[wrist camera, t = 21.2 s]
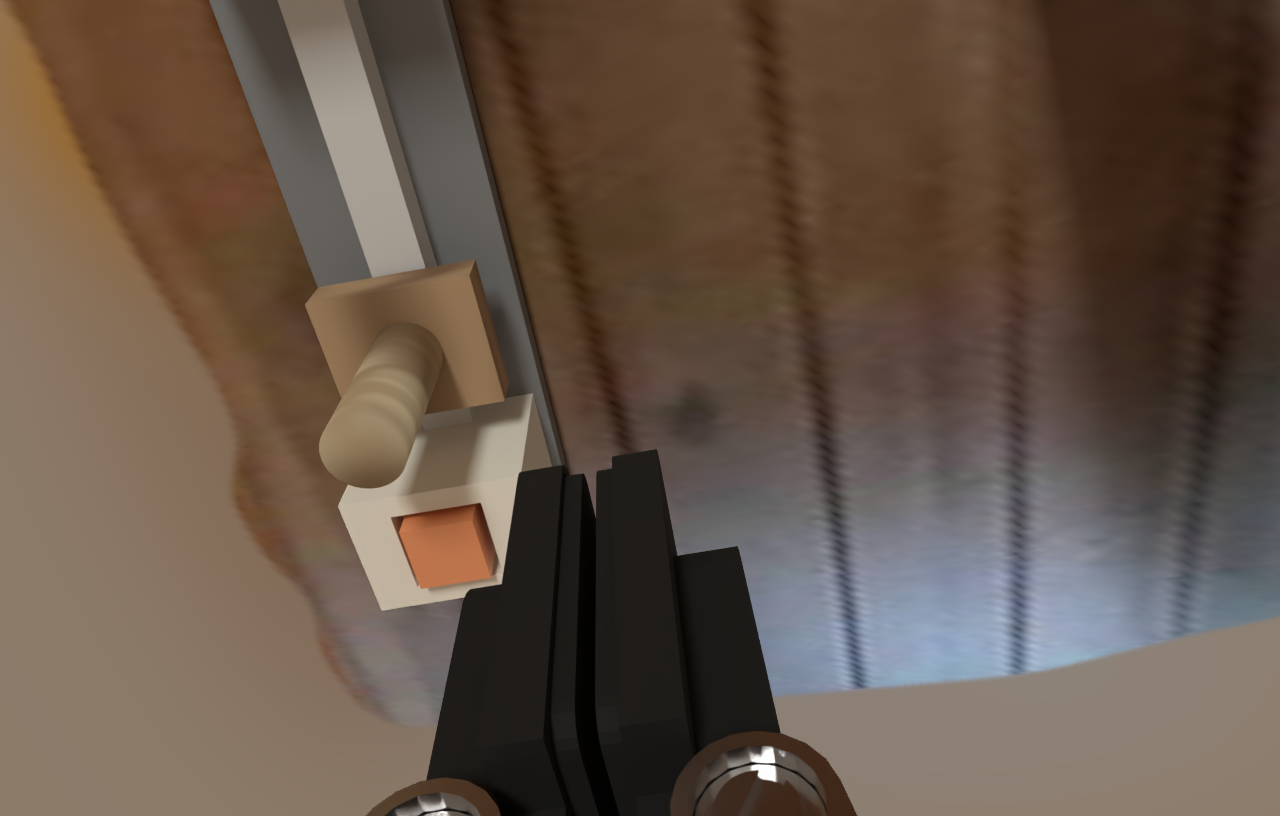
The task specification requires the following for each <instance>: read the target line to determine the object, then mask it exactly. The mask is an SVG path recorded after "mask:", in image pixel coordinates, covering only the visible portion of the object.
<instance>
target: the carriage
mask: <svg viewBox="0 0 1280 816" xmlns="http://www.w3.org/2000/svg"><path fill="white" fill-rule="evenodd" d="M305 306H306V308H307V311H308V314H309V316H310V319H311V321H312V324H313V326H314V329H315V332H316V334H317V337H318V339H319V342H320V344H321V347H322V350H323V352H324V355H325V357H326V360H327V362H328V365H329V368H330V370H331V373H332V375H333V378H334V380H335V383H336V385H337V388H338V391H339V393H340V396H341V398H342V400H341V402H340V403H339V405H338V407H337V409H336V410H335V412H334V414H333V416H332V418H331V419H330V421H329V423H328V425H327V427H326V428H325V430H324V432H323V434H322V436H321V439H320V443H319V452H320V456H321V459H322V462H323V464H324V465H325V467H326V468H327V470H328V471H329V472H330V473H331V474H332V475H333V476H334V477H336V478H337V479H339V480H340V481H342V482H344V483H346V484H348V485H351V486H354V487H358V488H365V489H372V488H379V487H383V486H386V485H388V484H390V483H392V482H393V481H395V480H396V479H397V478H398V477H399V476H400V475H401V474H402V472H403V471H404V469H405V466H406V463H407V461H408V458H409V455H410V453H411V450H412V447H413V444H414V442H415V439H416V436H417V433H418V431H419V428H420V425H421V423H422V420H423V417H424V415H426V414H432V413H438V412H444V411H450V410H456V409H461V408H467V407H473V406H479V405H485V404H491V403H497V402H503V401H505V398H506V393H507V388H508V383H509V379H508V375H507V371H506V368H505V364H504V361H503V357H502V353H501V350H500V346H499V342H498V339H497V335H496V332H495V328H494V324H493V321H492V317H491V313H490V310H489V306H488V303H487V299H486V295H485V292H484V288H483V284H482V281H481V277H480V274H479V270H478V266H477V263H476V259H474V260H469V261H463V262H458V263H452V264H446V265H441V266H435V267H429V268H424V269H418V270H413V271H407V272H401V273H396V274H390V275H385V276H379V277H373V278H368V279H362V280H357V281H351V282H345V283H340V284H334V285H329V286H323V287H319V288H318V289H317V290H316V291H315V293H314V294H313V295H312V296H311V298H310V299H309V300H308V301H307V303H306V304H305Z"/></svg>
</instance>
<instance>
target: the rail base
mask: <svg viewBox="0 0 1280 816" xmlns="http://www.w3.org/2000/svg"><path fill="white" fill-rule="evenodd" d="M209 1H210V4H211V6H212V9H213V11H214V14H215V17H216V19H217V22H218V25H219V27H220V30H221V33H222V35H223V38H224V41H225V43H226V46H227V49H228V51H229V54H230V56H231V59H232V62H233V64H234V67H235V70H236V72H237V75H238V78H239V80H240V83H241V86H242V88H243V91H244V94H245V96H246V99H247V102H248V104H249V107H250V109H251V112H252V115H253V117H254V120H255V123H256V125H257V128H258V131H259V133H260V136H261V139H262V141H263V144H264V147H265V149H266V152H267V154H268V157H269V160H270V162H271V165H272V168H273V170H274V173H275V176H276V178H277V181H278V184H279V186H280V189H281V192H282V194H283V197H284V199H285V202H286V205H287V207H288V210H289V213H290V215H291V218H292V221H293V223H294V226H295V229H296V231H297V234H298V237H299V239H300V242H301V245H302V247H303V250H304V252H305V255H306V258H307V260H308V263H309V266H310V268H311V271H312V274H313V276H314V279H315V282H316V284H317V287H318V288H319V287H323V286H329V285H334V284H340V283H345V282H351V281H357V280H362V279H368V278H373V277H379V276H385V275H390V274H396V273H401V272H407V271H413V270H418V269H424V268H429V267H435V266H441V265H446V264H452V263H458V262H463V261H469V260H474V259H476V263H477V266H478V270H479V274H480V277H481V281H482V284H483V288H484V292H485V295H486V299H487V303H488V306H489V310H490V313H491V317H492V321H493V324H494V328H495V332H496V335H497V339H498V342H499V346H500V350H501V353H502V357H503V361H504V364H505V368H506V371H507V375H508V379H509V383H508V388H507V393H506V398H505V401H503V402H497V403H491V404H485V405H479V406H473V407H467V408H461V409H456V410H450V411H444V412H438V413H432V414H426V415H424V417H423V420H422V423H421V425H420V428H419V431H418V433H417V436H416V439H415V442H414V444H413V447H412V450H411V453H410V455H409V458H408V461H407V463H406V466H405V469H404V471H403V472H402V474H401V475H400V476H399V477H398V478H397V479H396V480H395V481H393V482H392V483H390V484H388V485H386V486H383V487H379V488H372V489H365V488H358V487H354V486H351V485H348V486H347V488H346V490H345V492H344V494H343V496H342V499H341V501H340V503H339V505H338V508H339V510H340V512H341V515H342V517H343V520H344V522H345V524H346V527H347V529H348V531H349V534H350V536H351V539H352V541H353V543H354V546H355V548H356V550H357V553H358V555H359V558H360V560H361V562H362V565H363V567H364V569H365V572H366V574H367V576H368V579H369V581H370V584H371V586H372V588H373V591H374V593H375V595H376V598H377V600H378V603H379V605H380V607H381V610H389V609H395V608H401V607H407V606H414V605H420V604H426V603H432V602H439V601H445V600H451V599H457V598H464V597H465V595H466V593H467V592H468V591H469V590H470V589H474V588H480V587H486V586H493V585H499V584H502V578H503V572H504V565H505V558H506V552H507V545H508V539H509V532H510V525H511V519H512V512H513V506H514V499H515V492H516V486H517V479H518V475H519V473H520V472H523V471H529V470H535V469H541V468H547V467H553V466H559V465H565V466H566V462H565V458H564V454H563V450H562V446H561V442H560V438H559V434H558V430H557V426H556V422H555V418H554V414H553V411H552V407H551V403H550V399H549V395H548V391H547V387H546V383H545V379H544V375H543V371H542V367H541V363H540V359H539V355H538V351H537V347H536V343H535V339H534V335H533V331H532V327H531V324H530V320H529V316H528V312H527V308H526V304H525V300H524V296H523V292H522V288H521V284H520V280H519V276H518V272H517V268H516V264H515V260H514V256H513V252H512V248H511V244H510V240H509V237H508V233H507V229H506V225H505V221H504V217H503V213H502V209H501V205H500V201H499V197H498V193H497V189H496V185H495V181H494V177H493V173H492V169H491V165H490V161H489V157H488V153H487V149H486V146H485V142H484V138H483V134H482V130H481V126H480V122H479V118H478V114H477V110H476V106H475V102H474V98H473V94H472V90H471V86H470V82H469V78H468V74H467V70H466V66H465V62H464V59H463V55H462V51H461V47H460V43H459V39H458V35H457V31H456V27H455V23H454V19H453V15H452V11H451V7H450V3H449V0H209ZM566 468H567V466H566ZM475 503H481V505H482V508H483V511H484V515H485V518H486V521H487V524H488V527H489V530H490V533H491V536H492V540H493V543H494V546H495V549H496V551H495V557H494V563H493V569H492V574H491V578H487V579H481V580H474V581H468V582H462V583H456V584H449V585H443V586H437V587H431V588H425V589H421V588H420V585H419V583H418V580H417V578H416V575H415V572H414V570H413V567H412V565H411V562H410V559H409V557H408V554H407V552H406V549H405V546H404V544H403V541H402V539H401V536H400V534H399V532H400V529H401V526H402V523H403V520H404V517H405V515H409V514H415V513H421V512H427V511H433V510H439V509H445V508H451V507H457V506H463V505H469V504H475Z"/></svg>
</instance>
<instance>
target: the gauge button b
mask: <svg viewBox="0 0 1280 816" xmlns="http://www.w3.org/2000/svg"><path fill="white" fill-rule="evenodd" d="M399 534H400V536H401V539H402V541H403V544H404V546H405V549H406V552H407V554H408V557H409V559H410V562H411V565H412V567H413V570H414V572H415V575H416V578H417V580H418V583H419V585H420V588H421V589H425V588H431V587H437V586H443V585H449V584H456V583H462V582H468V581H474V580H481V579H487V578H491V574H492V569H493V563H494V557H495V551H496V549H495V546H494V543H493V540H492V536H491V533H490V530H489V527H488V524H487V521H486V518H485V515H484V511H483V508H482V505H481V503H475V504H469V505H463V506H457V507H451V508H445V509H439V510H433V511H427V512H421V513H415V514H409V515H405V517H404V520H403V523H402V526H401V529H400V532H399Z"/></svg>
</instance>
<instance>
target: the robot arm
mask: <svg viewBox="0 0 1280 816" xmlns="http://www.w3.org/2000/svg"><path fill="white" fill-rule="evenodd" d="M366 816H857V814H856V812H855V810H854V808H853V806H852V803H851V801H850V799H849V797H848V795H847V793H846V791H845V789H844V786H843V784H842V782H841V780H840V779H839V777H838V776H837V774H836V773H835V771H834V770H833V768H832V767H831V765H830V764H829V762H828V761H827V760H826V758H824V757H823V756H822V755H820V754H819V753H818V752H817V751H815V750H814V749H813V748H812V747H810V746H809V745H808V744H806V743H804V742H802V741H799V740H797V739H794V738H792V737H789V736H787V735H784V734H781V733H780V728H779V724H778V720H777V715H776V711H775V707H774V702H773V697H772V693H771V689H770V684H769V680H768V675H767V671H766V667H765V662H764V658H763V653H762V649H761V645H760V640H759V636H758V631H757V627H756V623H755V618H754V614H753V609H752V605H751V601H750V596H749V592H748V587H747V583H746V579H745V574H744V570H743V565H742V561H741V557H740V553H739V549H738V546H736V547H730V548H724V549H717V550H711V551H705V552H699V553H692V554H686V555H680V556H677V551H676V546H675V541H674V535H673V530H672V525H671V519H670V514H669V509H668V503H667V498H666V493H665V488H664V482H663V477H662V472H661V466H660V461H659V456H658V452H657V449H655V450H649V451H643V452H637V453H631V454H625V455H619V456H613V457H612V469H607V470H601V471H597V475H596V517H595V513H594V509H593V505H592V501H591V497H590V493H589V488H588V484H587V481H586V478H585V475H584V474H577V475H571V476H569V473H568V470H567V468H566V466H565V465H559V466H553V467H547V468H541V469H535V470H529V471H523V472H520V473H519V475H518V479H517V486H516V492H515V499H514V506H513V512H512V519H511V525H510V532H509V539H508V545H507V552H506V558H505V565H504V572H503V578H502V584H499V585H493V586H486V587H480V588H474V589H470V590H469V591H468V592H467V593H466V595H465V598H464V601H463V605H462V609H461V614H460V619H459V624H458V629H457V634H456V639H455V643H454V648H453V653H452V658H451V663H450V668H449V673H448V678H447V682H446V687H445V692H444V697H443V702H442V707H441V712H440V716H439V721H438V726H437V731H436V736H435V741H434V746H433V751H432V755H431V760H430V765H429V770H428V775H427V780H425V781H420V782H418V783H415V784H413V785H410V786H408V787H406V788H403V789H401V790H399V791H396V792H395V793H393V794H392V795H391V796H389V797H388V798H386V799H385V800H383V801H382V802H381V803H379V804H378V805H376V806H375V807H373V808H372V810H371V811H370V812H369V813H368V814H367V815H366Z"/></svg>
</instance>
